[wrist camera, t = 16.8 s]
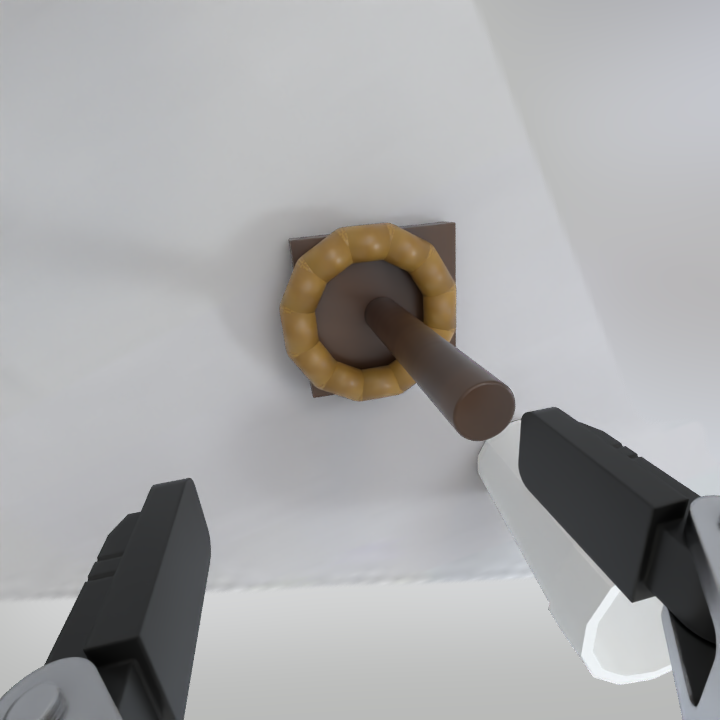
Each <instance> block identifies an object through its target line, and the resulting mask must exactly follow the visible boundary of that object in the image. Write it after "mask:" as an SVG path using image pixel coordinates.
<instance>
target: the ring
mask: <svg viewBox="0 0 720 720" xmlns="http://www.w3.org/2000/svg"><path fill="white" fill-rule="evenodd" d="M378 260H384V261H386V262H388V263H390V264H392V265H395V266H397V267H399V268H401V269H403V270H405V271H407V272H409V274H410V275H411V277H412V279H413V280H414V282H415V283H416V285H417V286H418V288H419V290H420V291H421V293H422V294H423V317H424V324H425V325H427V326H428V327H429V328H431V329H432V330H433V331H435V332H436V333H437V334H439V335H440V336H441V337H443V338H444V339H445V340H447V341H448V342H450V340H451V338H452V336H453V334H454V332H455V330H456V284H455V282H454V280H453V278H452V276H451V275H450V273H449V271H448V270H447V268H446V266H445V264H444V263H443V261H442V259H441V258H440V256H439V254H438V253H437V251H436V249H435V248H434V246H433V245H432V244H431V243H429V242H427V241H425V240H423V239H421V238H419V237H417V236H415V235H413V234H411V233H409V232H407V231H406V230H404V229H402V228H400V227H398V226H396V225H394V224H391V223H378V224H368V225H359V226H349V227H341V228H339V229H336V230H335V231H334V232H332V233H331V234H330V235H328V236H327V237H326V238H325V239H323V240H322V241H321V242H319V243H318V244H317V245H315V246H314V247H313V248H312V249H310V250H309V251H308V252H306V253H305V254H304V255H302V256H301V257H300V258H299V259H298V261H297V262H296V264H295V267H294V269H293V272H292V275H291V277H290V280H289V282H288V285H287V287H286V290H285V292H284V295H283V297H282V300H281V302H280V307H279V310H280V317H281V323H282V329H283V335H284V341H285V347H286V351H287V354H288V356H289V357H290V358H291V359H292V361H293V362H294V363H295V364H296V365H297V366H298V367H299V369H300V370H301V371H302V372H303V373H304V374H305V375H306V377H307V378H308V379H309V380H310V381H311V382H312V384H313V385H314V386H315V387H317V388H318V389H321V390H323V391H326V392H329V393H333V394H336V395H339V396H342V397H345V398H348V399H351V400H354V401H366V400H372V399H378V398H383V397H389V396H395V395H399V394H402V393H403V392H405V391H406V390H407V389H409V388H410V387H411V386H413V385H414V384H416V382H415V381H414V380H413V378H412V377H411V376H410V375H409V374H408V372H407V371H406V370H405V369H404V368H403V366H402V365H401V364H400V363H399V362H398V361H397V359H396V360H394V361H393V362H392V363H390V364H389V365H386V366H380V367H374V368H368V369H362V370H360V369H358V368H355V367H352V366H349V365H347V364H344V363H341V362H338V361H336V360H335V359H334V358H333V357H332V355H331V354H330V353H329V352H328V350H327V349H326V348H325V347H324V346H323V344H322V343H321V342H320V341H319V338H318V330H317V323H316V315H315V310H316V308H317V306H318V303H319V301H320V299H321V296H322V294H323V291H324V289H325V287H326V284H327V283H328V282H329V281H330V280H332V279H333V278H334V277H336V276H337V275H338V274H339V273H341V272H342V271H343V270H345V269H346V268H347V267H349V266H350V265H351V264H353V263H361V262H370V261H378Z"/></svg>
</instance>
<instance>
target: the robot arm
mask: <svg viewBox="0 0 720 720" xmlns="http://www.w3.org/2000/svg"><path fill="white" fill-rule="evenodd" d="M518 469H519V473H520V476H521V479H522V481H523V483H524V485H525V487H526V488H527V489H528V490H529V491H530V493H531V494H532V495H533V496H534V497H535V498H536V499H537V500H538V501H539V502H540V503H541V505H542V506H543V507H544V508H545V509H546V510H547V511H548V512H549V513H550V514H551V515H552V517H553V518H554V519H555V520H556V521H557V522H558V523H559V524H560V525H561V526H562V527H563V529H564V530H565V531H566V532H567V533H568V534H569V535H570V536H571V537H572V538H573V539H574V541H575V542H576V543H577V544H578V545H579V546H580V547H581V548H582V549H583V550H584V551H585V553H586V554H587V555H588V556H589V557H590V558H591V559H592V560H593V561H594V562H595V563H596V565H597V566H598V567H599V568H600V569H601V570H602V571H603V572H604V573H605V574H606V575H607V577H608V578H609V579H610V580H611V581H612V582H613V583H614V584H615V585H616V586H617V587H618V589H619V590H620V591H621V592H622V593H623V594H624V595H625V596H626V597H627V598H628V599H629V601H630V602H631V603H634V602H637V601H641V600H644V599H647V598H651V597H654V596H656V597H657V598H658V599H659V600H660V601H661V602H662V603H663V608H662V612H661V619H662V624H663V629H664V634H665V638H666V643H667V648H668V652H669V657H670V662H671V666H672V671H673V675H674V680H675V685H676V690H677V694H678V699H679V704H680V708H681V713H682V719H683V720H720V496H716V495H710V496H703V497H701V496H699V495H698V494H696V493H695V492H693V491H692V490H690V489H689V488H687V487H686V486H684V485H683V484H681V483H680V482H678V481H677V480H675V479H674V478H672V477H671V476H669V475H668V474H666V473H665V472H663V471H662V470H660V469H659V468H657V467H656V466H654V465H653V464H651V463H650V462H648V461H647V460H645V459H644V458H642V457H638V456H637V454H636V453H635V452H633V451H632V450H630V449H629V448H627V447H626V446H624V447H623V446H622V444H621V443H620V442H618V441H617V440H615V439H614V438H612V437H611V436H609V435H608V434H606V433H605V432H603V431H601V430H599V429H596V428H593V427H591V426H588V425H586V424H583V423H581V422H578V421H576V420H575V419H573V418H572V417H570V416H569V415H568V414H566V413H565V412H563V411H562V410H560V409H559V408H556V407H551V408H546V409H541V410H536V411H531V412H526V413H525V414H524V415H523V416H522V419H521V428H520V443H519V458H518ZM210 557H211V545H210V536H209V531H208V528H207V524H206V521H205V518H204V514H203V511H202V508H201V504H200V501H199V497H198V494H197V491H196V487H195V484H194V482H193V480H192V479H191V478H186V479H181V480H176V481H171V482H166V483H161V484H156V485H153V486H152V487H151V489H150V491H149V494H148V496H147V499H146V501H145V503H144V506H143V508H142V510H141V512H137V513H132V514H128V515H127V516H126V517H125V518H124V519H123V520H122V521H121V522H120V523H119V524H118V526H117V527H116V528H115V529H114V530H113V531H112V532H111V533H110V534H109V535H108V537H107V539H106V541H105V543H104V545H103V547H102V549H101V551H100V553H99V555H98V557H97V559H98V561H97V562H95V563H94V565H93V567H92V569H91V571H90V573H89V575H88V582H85V584H84V586H83V588H82V590H81V592H80V594H79V596H78V598H77V600H76V602H75V604H74V606H73V608H72V610H71V612H70V614H69V616H68V618H67V620H66V622H65V624H64V626H63V628H62V630H61V633H60V635H59V637H58V638H57V641H56V643H55V645H54V647H53V649H52V651H51V653H50V655H49V657H48V659H47V661H46V663H45V665H44V666H43V667H41V668H39V669H37V670H35V671H34V672H32V673H31V674H29V675H27V676H26V677H24V678H23V679H22V680H21V681H19V682H18V683H17V684H15V685H14V686H13V687H12V688H11V689H10V690H9V691H8V692H6V693H5V694H4V695H3V696H2V697H1V698H0V720H184V714H185V708H186V702H187V696H188V690H189V683H190V677H191V672H192V666H193V660H194V654H195V648H196V642H197V637H198V630H199V625H200V618H201V611H202V607H203V601H204V595H205V589H206V583H207V577H208V571H209V565H210Z"/></svg>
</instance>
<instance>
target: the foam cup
mask: <svg viewBox="0 0 720 720" xmlns="http://www.w3.org/2000/svg"><path fill="white" fill-rule="evenodd" d="M520 428H521V420H516V421H514V422H512V423H509V424H508V426H507V427H506V428H505V429H504V430H503V431H502V432H501V433H499V434H498V435H496V436H495V437H493V438H490V439H488V440H486V441H485V443H484V445H483V447H482V449H481V451H480V453H479V455H478V474H479V475H480V478H481V480H482V481H483V483H484V485H485V487H486V489H487V490H488V492H489V494H490V496H491V498H492V500H493V501H494V503H495V505H496V507H497V509H498V511H499V512H500V514H501V516H502V518H503V520H504V521H505V523H506V525H507V527H508V529H509V531H510V532H511V534H512V536H513V538H514V540H515V542H516V543H517V545H518V547H519V549H520V551H521V552H522V554H523V556H524V558H525V560H526V562H527V563H528V565H529V567H530V569H531V571H532V573H533V574H534V576H535V578H536V580H537V582H538V583H539V585H540V587H541V589H542V591H543V593H544V594H545V596H546V598H547V600H548V601H549V611H550V613H551V615H552V616H553V618H554V619H555V621H556V623H557V624H558V626H559V628H560V629H561V631H562V632H563V634H564V635H565V637H566V638H567V640H568V641H569V643H570V644H571V645H572V647H573V648H574V650H575V651H576V653H577V654H578V655H579V657H580V659H581V660H582V661H583V663H584V664H585V666H586V667H587V668H588V670H589V672H590V673H591V674H592V676H593V677H595V678H598V679H601V680H605V681H609V682H612V683H615V684H619V685H620V684H626V683H633V682H639V681H645V680H651V679H654V678H657V677H659V676H661V675H663V674H665V673H667V672H669V671H671V670H672V666H671V662H670V657H669V652H668V648H667V643H666V638H665V634H664V629H663V624H662V619H661V612H662V608H663V603H662V602H661V601H660V600H659V599H658V598H657V597H656V596H654V597H651V598H647V599H644V600H641V601H637V602H634V603H631V602H630V601H629V599H628V598H627V597H626V596H625V595H624V594H623V593H622V592H621V591H620V590H619V589H618V587H617V586H616V585H615V584H614V583H613V582H612V581H611V580H610V579H609V578H608V577H607V575H606V574H605V573H604V572H603V571H602V570H601V569H600V568H599V567H598V566H597V565H596V563H595V562H594V561H593V560H592V559H591V558H590V557H589V556H588V555H587V554H586V553H585V551H584V550H583V549H582V548H581V547H580V546H579V545H578V544H577V543H576V542H575V541H574V539H573V538H572V537H571V536H570V535H569V534H568V533H567V532H566V531H565V530H564V529H563V527H562V526H561V525H560V524H559V523H558V522H557V521H556V520H555V519H554V518H553V517H552V515H551V514H550V513H549V512H548V511H547V510H546V509H545V508H544V507H543V506H542V505H541V503H540V502H539V501H538V500H537V499H536V498H535V497H534V496H533V495H532V494H531V493H530V491H529V490H528V489H527V488H526V487H525V485H524V483H523V481H522V479H521V476H520V473H519V469H518V458H519V443H520Z"/></svg>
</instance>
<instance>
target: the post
mask: <svg viewBox="0 0 720 720" xmlns="http://www.w3.org/2000/svg"><path fill="white" fill-rule="evenodd" d="M400 228H402V229H404V230H406V231H407V232H409V233H411V234H413V235H415V236H417V237H419V238H421V239H423V240H425V241H427V242H429V243H431V244H432V245H433V246H434V248H435V249H436V251H437V253H438V254H439V256H440V258H441V259H442V261H443V263H444V264H445V266H446V268H447V270H448V271H449V273H450V275H451V276H452V278H453V280H454V282H455V284H456V279H455V223H454V222H437V223H428V224H419V225H410V226H401V227H400ZM328 235H330V234H328ZM328 235H319V236H310V237H301V238H291V239H289V244H290V251H291V258H292V265H293V269H294V267H295V264H296V262H297V261H298V259H299V258H300V257H301V256H302V255H304V254H305V253H306V252H308V251H309V250H310V249H312V248H313V247H314V246H315V245H317V244H318V243H319V242H321V241H322V240H323V239H325V238H326V237H327V236H328ZM315 315H316V323H317V330H318V338H319V341H320V342H321V343H322V344H323V346H324V347H325V348H326V349H327V350H328V352H329V353H330V354H331V355H332V357H333V358H334V359H335V360H336V361H338V362H341V363H344V364H347V365H349V366H352V367H355V368H358V369H360V370H362V369H368V368H374V367H380V366H386V365H389V364H390V363H392V362H393V361H394V360H396V359H397V361H398V362H399V363H400V364H401V365H402V366H403V368H404V369H405V370H406V371H407V372H408V374H409V375H410V376H411V377H412V378H413V380H414V381H415V382H416V383H417V384H418V386H419V387H420V388H421V389H422V390H423V392H424V393H425V394H426V395H427V396H428V398H429V399H430V400H431V401H432V402H433V403H434V405H435V406H436V407H437V408H438V409H439V411H440V412H441V413H442V414H443V415H444V417H445V418H446V419H447V420H448V421H449V423H450V424H451V425H452V426H453V427H454V429H455V430H456V431H457V432H458V433H459V434H460V435H461V436H462V437H464V438H466V439H469V440H473V441H483V440H488V439H490V438H493V437H495V436H496V435H498V434H499V433H501V432H502V431H503V430H504V429H505V428H506V427H507V426H508V424H509V423H510V421H511V420H512V418H513V415H514V412H515V398H514V395H513V393H512V391H511V390H510V388H509V387H508V386H507V385H505V384H504V383H503V382H501V381H500V380H499V379H497V378H496V377H495V376H493V375H492V374H491V373H489V372H488V371H487V370H485V369H484V368H483V367H481V366H480V365H479V364H477V363H476V362H475V361H473V360H472V359H471V358H469V357H468V356H467V355H465V354H464V353H463V352H461V351H460V350H459V349H457V348H456V330H455V332H454V334H453V336H452V338H451V340H450V342H448V341H447V340H445V339H444V338H443V337H441V336H440V335H439V334H437V333H436V332H435V331H433V330H432V329H431V328H429V327H428V326H427V325H425V324H424V317H423V294H422V293H421V291H420V290H419V288H418V286H417V285H416V283H415V282H414V280H413V279H412V277H411V275H410V274H409V272H407V271H405V270H403V269H401V268H399V267H397V266H395V265H392V264H390V263H388V262H386V261H384V260H378V261H370V262H361V263H353V264H351V265H350V266H349V267H347V268H346V269H345V270H343V271H342V272H341V273H339V274H338V275H337V276H336V277H334V278H333V279H332V280H330V281H329V282H328V283H327V284H326V287H325V289H324V291H323V294H322V296H321V299H320V301H319V303H318V306H317V308H316V310H315ZM310 385H311V390H312V394H313V398H316V397H322V396H328V395H333V393H329V392H326V391H323V390H321V389H318V388H317V387H315V386H314V385H313V384H312V382H311V381H310Z"/></svg>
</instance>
